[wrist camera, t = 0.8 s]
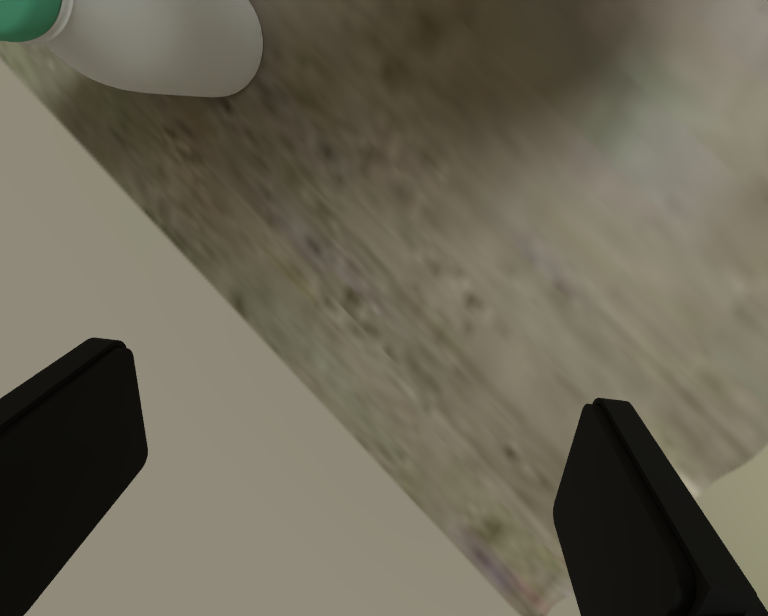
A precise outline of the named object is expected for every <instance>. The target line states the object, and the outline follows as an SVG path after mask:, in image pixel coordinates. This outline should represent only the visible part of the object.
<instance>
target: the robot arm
mask: <svg viewBox="0 0 768 616" xmlns="http://www.w3.org/2000/svg"><path fill="white" fill-rule="evenodd" d="M147 455H148V447H147V441H146V435H145V428H144V422H143V415H142V409H141V402H140V396H139V390H138V383H137V376H136V370H135V365H134V357H133V354H132V351H131V350H130V349H128V348H126V346H125V344H124V343H123V342H122V341H119V340H110V339H102V338H90V339H88V340H86V341H85V342H83V343H82V344H80V345H79V346H77V347H76V348H74V349H73V350H71V351H70V352H68V353H67V354H65V355H64V356H63V357H61V358H60V359H58V360H57V361H55V362H54V363H52V364H51V365H49V366H48V367H46V368H45V369H43V370H42V371H40V372H39V373H37V374H36V375H35V376H33V377H32V378H30V379H29V380H27V381H26V382H24V383H23V384H21V385H20V386H18V387H17V388H15V389H14V390H12V391H11V392H9V393H8V394H6V395H5V396H4V397H2V398H1V399H0V616H23V615H24V614H25V613H26V612H27V611H28V610H29V609H30V608H31V606H32V605H33V604H34V602H35V601H36V600H37V599H38V598H39V596H40V595H41V594H42V592H43V591H44V590H45V589H46V588H47V586H48V585H49V584H50V583H51V581H52V580H53V579H54V577H55V576H56V575H57V574H58V573H59V571H60V570H61V569H62V568H63V566H64V565H65V564H66V562H67V561H68V560H69V559H70V558H71V556H72V555H73V554H74V553H75V551H76V550H77V549H78V548H79V546H80V545H81V544H82V543H83V541H84V540H85V539H86V537H87V536H88V535H89V534H90V533H91V531H92V530H93V529H94V528H95V526H96V525H97V524H98V523H99V521H100V520H101V519H102V518H103V516H104V515H105V514H106V512H107V511H108V510H109V509H110V508H111V506H112V505H113V504H114V503H115V501H116V500H117V499H118V498H119V497H120V495H121V494H122V493H123V492H124V490H125V489H126V488H127V487H128V485H129V484H130V483H131V481H132V480H133V479H134V478H135V476H136V475H137V474H138V473H139V471H140V470H141V469H142V468H143V466H144V464H145V462H146V459H147ZM553 519H554V524H555V528H556V531H557V535H558V538H559V541H560V545H561V548H562V552H563V555H564V559H565V562H566V566H567V569H568V573H569V576H570V579H571V583H572V586H573V590H574V593H575V597H576V600H577V604H578V607H579V610H580V614H581V616H768V612H767V610H766V609H765V607H764V606H763V604H762V602H761V601H760V600H759V598H758V597H757V594H756V592H755V590H754V589H753V587H752V586H751V584H750V583H749V581H748V580H747V578H746V577H745V575H744V574H743V572H742V571H741V569H740V568H739V566H738V565H737V563H736V562H735V560H734V559H733V557H732V556H731V554H730V553H729V551H728V550H727V548H726V547H725V545H724V543H723V542H722V540H721V539H720V537H719V536H718V534H717V533H716V531H715V530H714V529H713V527H712V525H711V524H710V522H709V521H708V520H707V518H706V516H705V515H704V513H703V512H702V510H701V509H700V507H699V506H698V504H697V503H696V501H695V500H694V498H693V497H692V495H691V494H690V492H689V491H688V489H687V488H686V486H685V485H684V483H683V482H682V480H681V479H680V477H679V476H678V474H677V473H676V471H675V470H674V468H673V467H672V465H671V464H670V462H669V460H668V459H667V457H666V456H665V454H664V453H663V451H662V450H661V448H660V447H659V445H658V444H657V442H656V441H655V439H654V438H653V436H652V435H651V433H650V432H649V430H648V429H647V427H646V426H645V424H644V423H643V421H642V420H641V418H640V417H639V415H638V414H637V412H636V411H635V409H634V408H633V406H632V405H631V404H630V403H629V402H627V401H621V400H613V399H604V398H597V399H595V400H594V402H593V404H586V405H585V406H584V407H583V410H582V413H581V416H580V419H579V423H578V426H577V429H576V433H575V436H574V439H573V443H572V446H571V449H570V452H569V456H568V459H567V462H566V466H565V469H564V472H563V476H562V479H561V482H560V486H559V489H558V492H557V496H556V499H555V502H554V507H553Z"/></svg>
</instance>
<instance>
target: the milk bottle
mask: <svg viewBox="0 0 768 616" xmlns="http://www.w3.org/2000/svg"><path fill="white" fill-rule="evenodd" d="M0 40H1V41H9V42H17V43H21V44H27V45H37V44H43V45H45V46H46V47H47V48H48V49H49V50H50V51H52V52H53V53H54V54H55V55H56V56H57V57H58V58H60V59H61V60H62V61H63V62H64V63H66V64H67V65H68V66H70V67H71V68H73V69H74V70H76V71H78V72H79V73H81V74H83V75H84V76H86V77H88V78H90V79H92V80H95V81H97V82H99V83H102V84H104V85H108V86H111V87H114V88H118V89H122V90H127V91H134V92H142V93H152V94H165V95H179V96H196V97H225V96H229V95H232V94H235V93H237V92H239V91H240V90H242V89H243V88H244V87H246V86H247V85H248V84H249V83H250V81H251V80H252V79H253V77H254V76H255V74H256V72H257V70H258V68H259V65H260V62H261V58H262V51H263V37H262V30H261V26H260V22H259V19H258V17H257V14H256V12H255V10H254V8H253V6H252V5H251V3H250V2H249V0H0Z"/></svg>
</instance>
